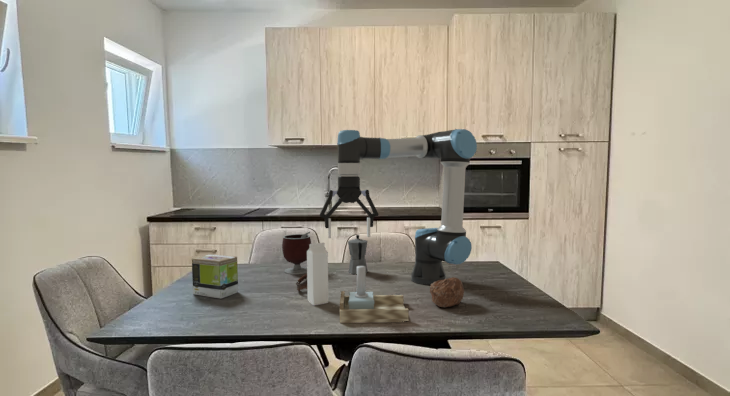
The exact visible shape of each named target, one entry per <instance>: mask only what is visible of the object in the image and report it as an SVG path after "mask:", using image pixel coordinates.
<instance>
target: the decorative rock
mask: <svg viewBox="0 0 730 396" xmlns="http://www.w3.org/2000/svg"><path fill="white" fill-rule="evenodd" d="M464 288H465V287H464V284H463V282H462V280H461V279H460V278H458V277H454V276H452V277H448V278H446V279H444V280H439V281H436V282H434V283H433V284H431V285H430V286H429V293H430V295H431V301H432V303H434V304H435V305H436V306H437V307H441V308H448V307H454V306H455V305H456V306H457V305H460V303H461V302H462V300H464V295H465V289H464Z"/></svg>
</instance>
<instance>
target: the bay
mask: <svg viewBox="0 0 730 396" xmlns="http://www.w3.org/2000/svg"><path fill="white" fill-rule="evenodd" d="M345 292H346V291H345V290H342V291H340V298H339V324H344V323H345V324H350V323H351V324H353V323H354V324H355V323H356V324H357V323H360V324H361V323H363V324H364V323H367V324H368V323H405V322H404V321H410V320H409V317H410V315H409V308H408V307H407V308H406V307H405V304H404V301H405V300H404V299H405V298H404V294H401V293H400V292H396V293H394V294H380V295H379V294H373V299H374V309H349V302H348V301H349V295H346V293H345ZM402 321H403V322H402Z"/></svg>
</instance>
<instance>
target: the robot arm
mask: <svg viewBox="0 0 730 396" xmlns="http://www.w3.org/2000/svg"><path fill="white" fill-rule="evenodd" d="M336 143H337V144H336V145H337V175H339V176H338V177H337V190H332V189H329V190H328V196H327V198H326V200H325V202H324V205H323V207H322V209H321V210H320V213H319V216H320V218H322V219H324V227H325V229H327V230H328V232H327V233H328V234H327V235H328V239H332V218H330V217H331V216H332V215H333V213H334V212H335V211H336V210H337V209H338V208H339V206H340V205H341V204H342V203H344V204H349V203H351V204H354V203H357V204H358V205H359V207H360V208H361V209H362V210H363V211H364V212H365V214H367V216H368V217H366V237H368V238H371V228H373V227H374V218H375V217H378V216H379V212H378V210H377V209H376V206H375V204H374V202H373V200H372V198H371V196H370V190H369V189H364V190H361V177H360V176H359V175H360V174H361V169H360V168H361V164H360V163H361V162H360V161H361V160H363V161H364V160H385V159H390V158H391V159H392V158H406V157H407V158H408V157H409V158H410V157H416V158H418V159H432V160H433V159H434V160H435V159H436V160H440V162H439V163H440V164H441V165H442V166H443V181H442V198H441V200H442V202H441V218H440V219H441V221H440V226H439V227H429V228H428V227H427V228H418V229H416V230H415V236H414V252H415V253H414V256H415V258H414V260H415V261H414V262H415V263H414V265H413V268H412V271H411V274H410V276H411V277H410V279H411V281H412V282H413V283H416V284H420V285H427V286H428V285H430V286H431V284H433V283H434V282H436V281H439V280H444V279H447V275H446V271H445V269H444V266H443V262H444V263H447V264H451V265H461V264H463V263H465V262H466V261H467V260H468V259H469V257H470V255H471V253H472V241H470V240H471V239H469V238H468V237H467V229H465V228H464V226H463V223H464V203H465V184H466V170H467V169H466V168H467V167H468V166H469V165H470V163H471V159H472V158H473V157H474V156H475V154H476V152H477V149H478V142H477V140H476V137H475V136H474V135H473V133H472V132H471V131H470V130H469V129H465V128H455V129H449V130H444V131H443V130H442V131H438V132H432V133H430V134H423V135H417V136H415V137H410V138H408V137H407V138H404V137H403V138H402V137H401V138H384V137H365V136H364V137H363V136H361V134H360V131H359V130H356V129H342V130H340V131H339V132H338V134H337V142H336ZM336 195H337V196H338V199H337V200H336V202H335V203H333V206H332V207H331V208H330V209H329V210H328V211H327V209H328V207H329V205H330V204H331V201H332V200H333V199H332V198H333V197H335V196H336ZM361 195H362V196H363V197H365V199H366V202H367V203H368V205H369V207H370V209H371V211H372V212H371V211H370V210H369V209H368V207H366V205H365V204H364V203H363V202H362V200H361V199H360V196H361ZM326 212H327V213H326Z"/></svg>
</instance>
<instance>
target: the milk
mask: <svg viewBox="0 0 730 396" xmlns="http://www.w3.org/2000/svg"><path fill="white" fill-rule="evenodd" d="M325 246H326V243H325V242H317V243H316V242H315V243H311V244H310V245H309V249H308V250H307V261H306V267H307V273H306V274H307V278H306V280H307V289H306V290H307V301H308V302H309V303H310V304H311V305H312V306H319V305H325V304H328V303H329V258H328V257H329V252H328V250H327V249H326V247H325Z"/></svg>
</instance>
